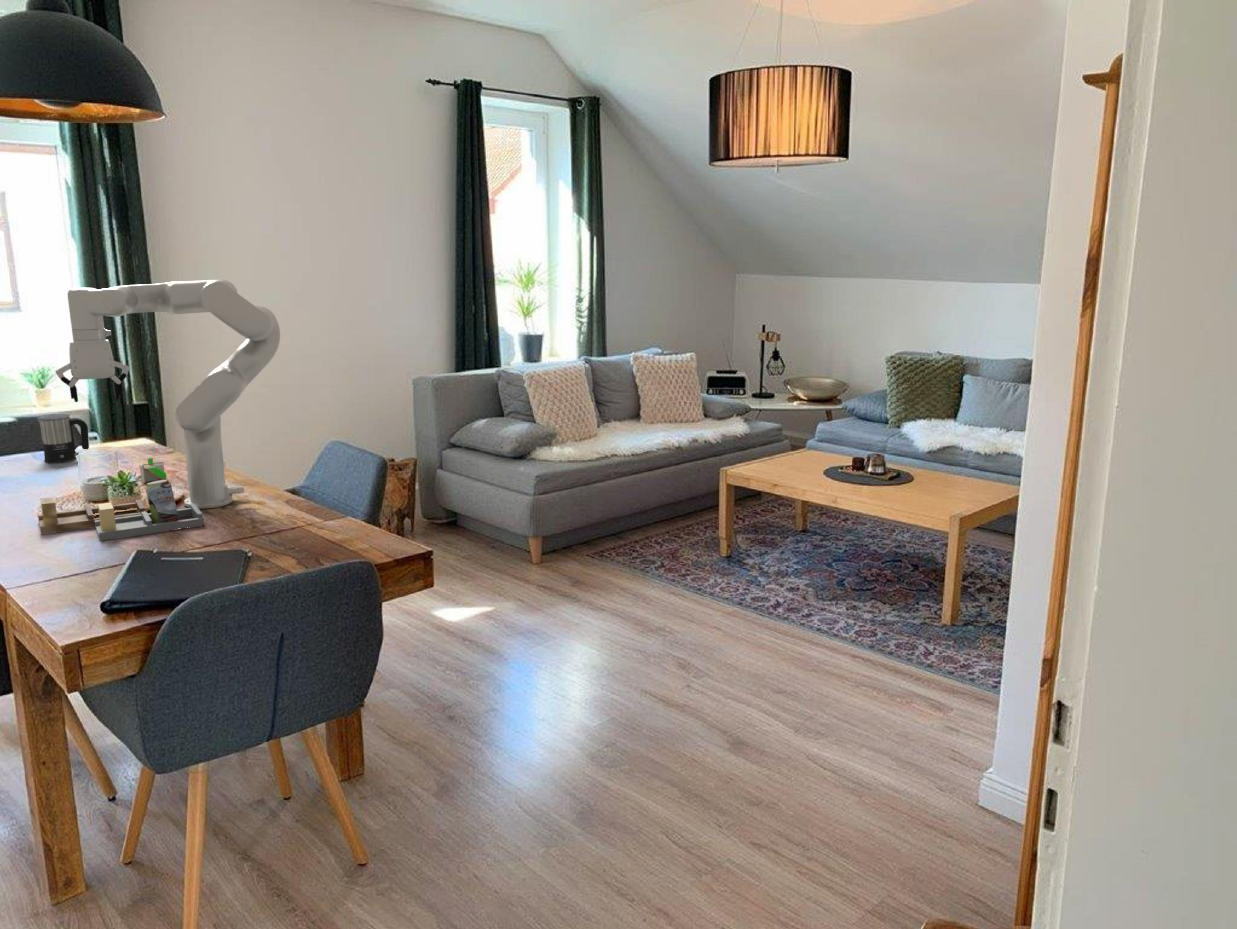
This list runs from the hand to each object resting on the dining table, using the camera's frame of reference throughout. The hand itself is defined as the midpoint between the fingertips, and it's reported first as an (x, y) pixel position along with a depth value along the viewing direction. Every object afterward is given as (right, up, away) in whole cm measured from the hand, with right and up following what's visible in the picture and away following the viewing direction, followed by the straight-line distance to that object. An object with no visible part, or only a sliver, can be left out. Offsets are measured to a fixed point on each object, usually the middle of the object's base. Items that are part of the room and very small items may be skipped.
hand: (96, 399), depth 253 cm
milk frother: (-47, -15, +64) cm, 81 cm away
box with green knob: (-2, -23, +36) cm, 43 cm away
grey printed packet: (+21, -33, -7) cm, 40 cm away
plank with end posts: (+1, -32, -4) cm, 33 cm away
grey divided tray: (+19, -34, -9) cm, 39 cm away
